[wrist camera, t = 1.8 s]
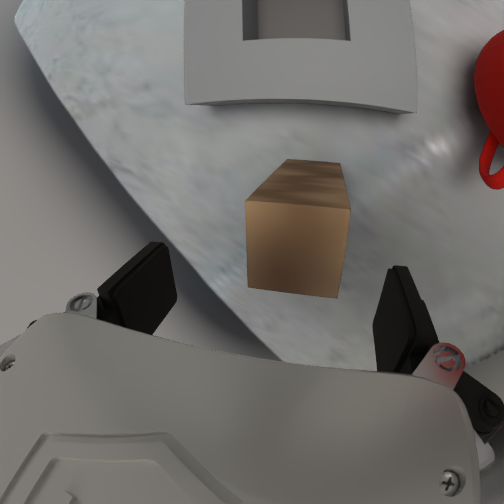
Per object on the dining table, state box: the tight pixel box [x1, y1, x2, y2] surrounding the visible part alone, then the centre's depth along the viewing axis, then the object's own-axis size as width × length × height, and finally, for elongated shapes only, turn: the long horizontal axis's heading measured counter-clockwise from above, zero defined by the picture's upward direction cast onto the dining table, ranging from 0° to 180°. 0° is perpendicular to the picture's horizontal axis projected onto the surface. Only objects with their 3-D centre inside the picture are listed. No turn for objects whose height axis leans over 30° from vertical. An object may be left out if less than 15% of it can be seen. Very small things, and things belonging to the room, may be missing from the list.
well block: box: [184, 0, 417, 114], centre depth 16 cm, size 18×18×6 cm
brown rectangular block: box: [245, 159, 351, 298], centre depth 20 cm, size 5×5×14 cm
